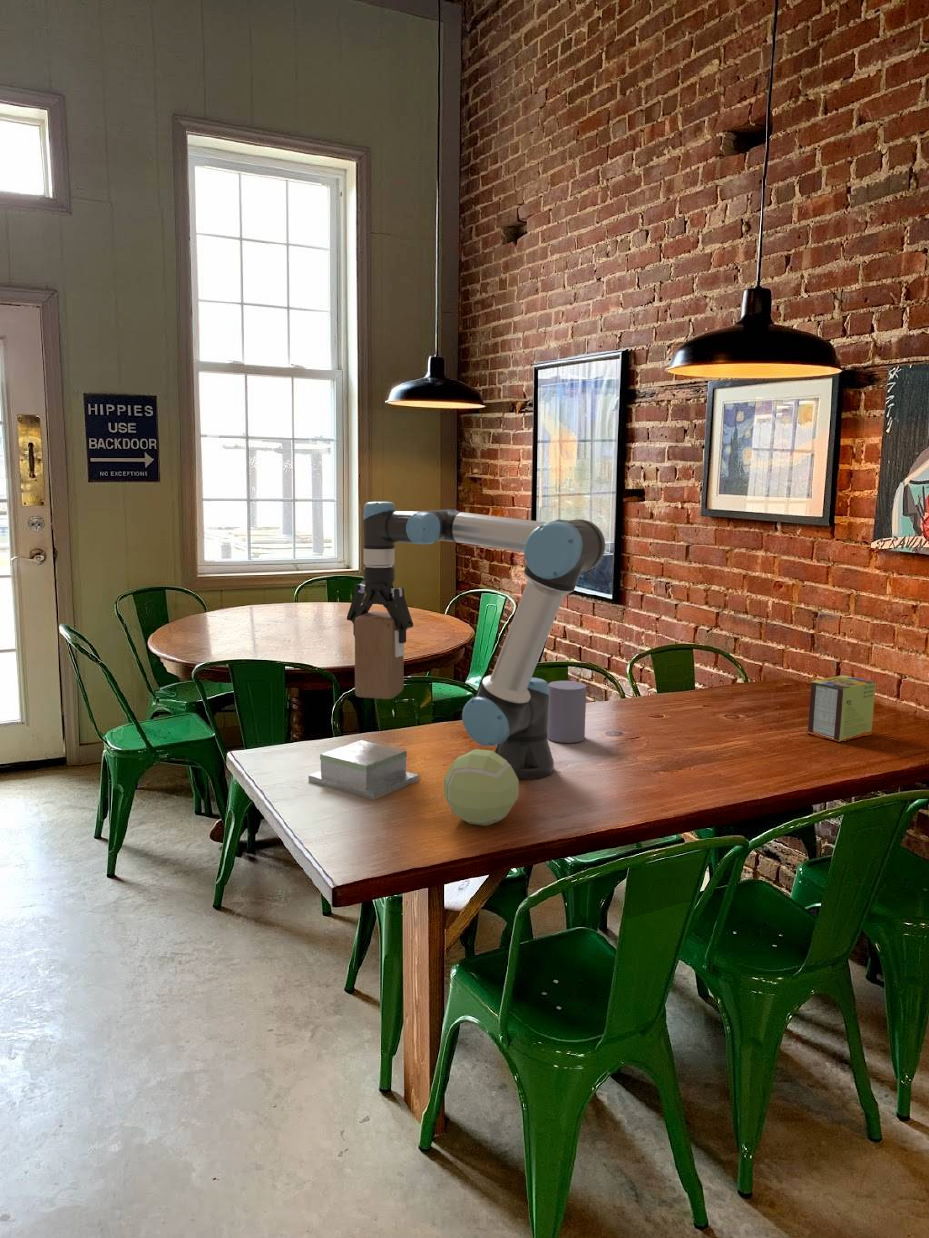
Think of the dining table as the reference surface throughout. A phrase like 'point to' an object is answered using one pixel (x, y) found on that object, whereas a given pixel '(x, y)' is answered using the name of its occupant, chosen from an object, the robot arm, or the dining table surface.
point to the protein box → (841, 707)
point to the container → (566, 711)
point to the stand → (364, 770)
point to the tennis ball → (481, 787)
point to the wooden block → (377, 657)
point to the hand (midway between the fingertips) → (379, 652)
